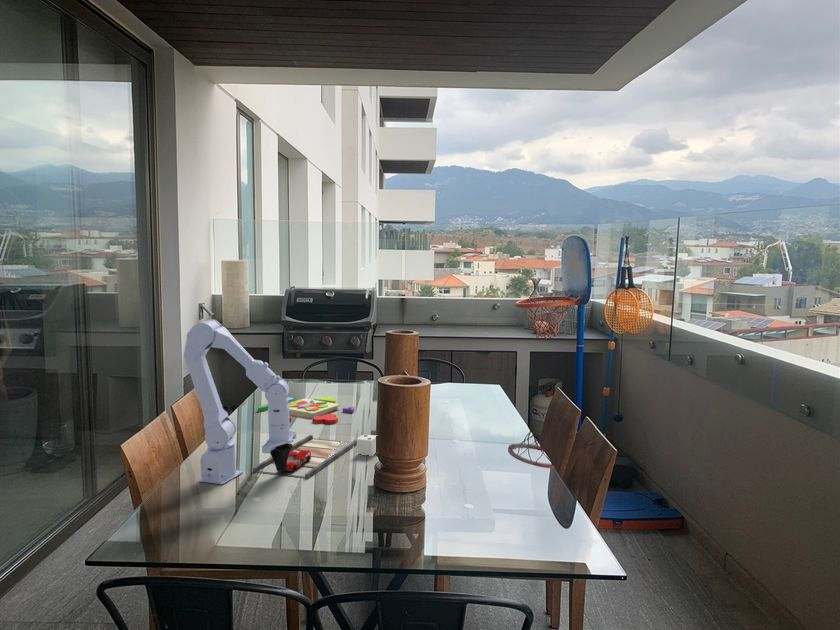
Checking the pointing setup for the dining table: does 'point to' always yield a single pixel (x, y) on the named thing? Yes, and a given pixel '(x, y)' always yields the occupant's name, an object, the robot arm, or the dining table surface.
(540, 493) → the dining table surface
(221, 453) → the robot arm
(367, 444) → the die
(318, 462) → the board
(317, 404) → the pattern blocks set
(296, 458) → the race car
